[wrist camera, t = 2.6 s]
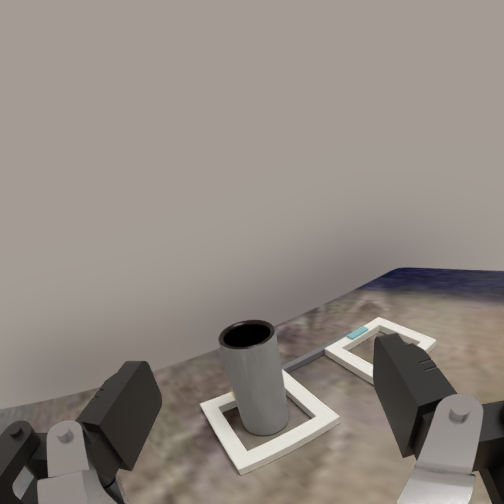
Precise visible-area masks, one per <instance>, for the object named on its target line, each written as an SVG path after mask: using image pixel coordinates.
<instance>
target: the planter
mask: <svg viewBox="0 0 504 504" xmlns="http://www.w3.org/2000/svg"><path fill="white" fill-rule="evenodd" d="M218 341H219V345H220V349H221V352H222V356H223V359H224V363H225V366H226V370H227V373H228V377H229V380H230V384H231V387H232V390H233V394H234V397H235V400H236V403H237V407H238V410H239V413H240V416H241V419H242V422H243V425H244V427H245V429H246V430H247V431H249V432H250V433H252V434H255V435H261V436H265V435H271V434H274V433H277V432H279V431H280V430H282V429H283V428H284V427H285V426H286V425H287V423H288V421H289V410H288V404H287V398H286V392H285V386H284V380H283V373H282V367H281V361H280V355H279V349H278V343H277V337H276V332H275V328H274V326H273V325H272V324H270V323H269V322H266V321H261V320H247V321H242V322H238V323H235V324H233V325H231V326H229V327H227V328H226V329H224V330H223V331H222V332H221V334H220V335H219V339H218Z"/></svg>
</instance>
